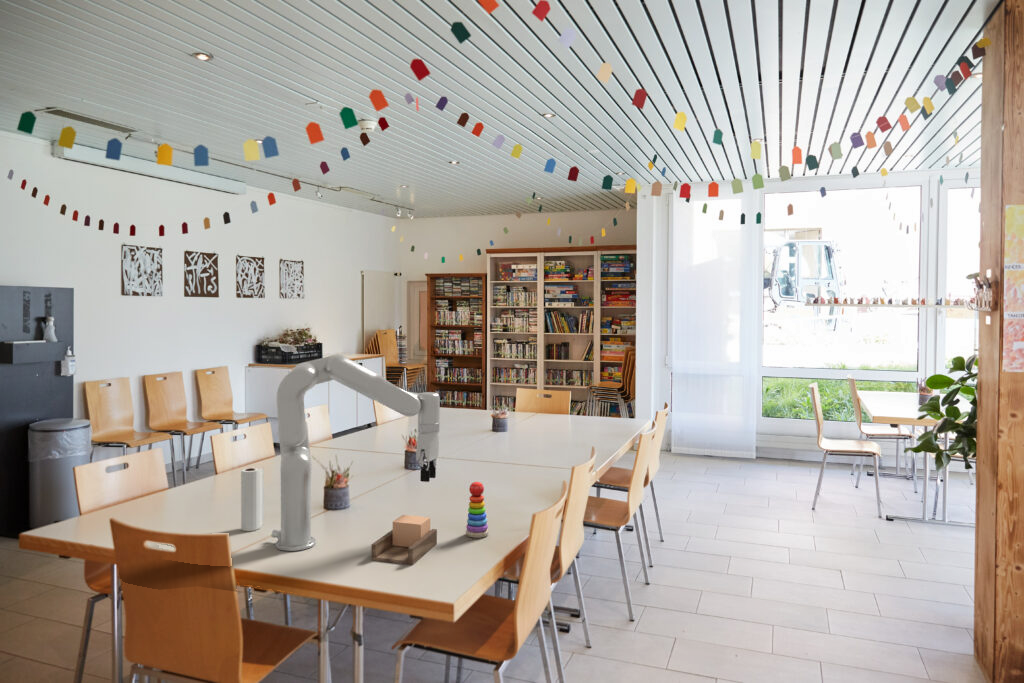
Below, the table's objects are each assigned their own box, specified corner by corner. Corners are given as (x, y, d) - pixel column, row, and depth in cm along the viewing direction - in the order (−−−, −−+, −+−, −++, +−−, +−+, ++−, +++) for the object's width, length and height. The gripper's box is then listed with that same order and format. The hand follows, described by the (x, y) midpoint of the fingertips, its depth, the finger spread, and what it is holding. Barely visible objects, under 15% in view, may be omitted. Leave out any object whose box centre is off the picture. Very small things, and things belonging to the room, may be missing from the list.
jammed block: (392, 545, 223) (392, 521, 223) (402, 537, 231) (402, 514, 230) (420, 548, 220) (421, 524, 220) (430, 540, 228) (430, 517, 228)
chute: (371, 560, 213) (371, 544, 213) (398, 539, 232) (398, 525, 232) (412, 565, 209) (413, 548, 209) (436, 544, 228) (436, 529, 228)
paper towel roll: (240, 532, 237) (240, 471, 237) (242, 527, 243) (242, 467, 242) (262, 530, 239) (262, 470, 239) (263, 525, 245) (263, 466, 244)
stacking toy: (488, 531, 243) (489, 479, 242) (488, 538, 235) (489, 485, 234) (466, 531, 242) (466, 479, 242) (465, 538, 234) (466, 484, 234)
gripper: (427, 423, 247) (427, 473, 247) (408, 431, 230) (408, 484, 231) (447, 424, 245) (446, 475, 245) (429, 432, 228) (428, 486, 229)
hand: (428, 479), depth 238 cm, fingers open, 4 cm apart
